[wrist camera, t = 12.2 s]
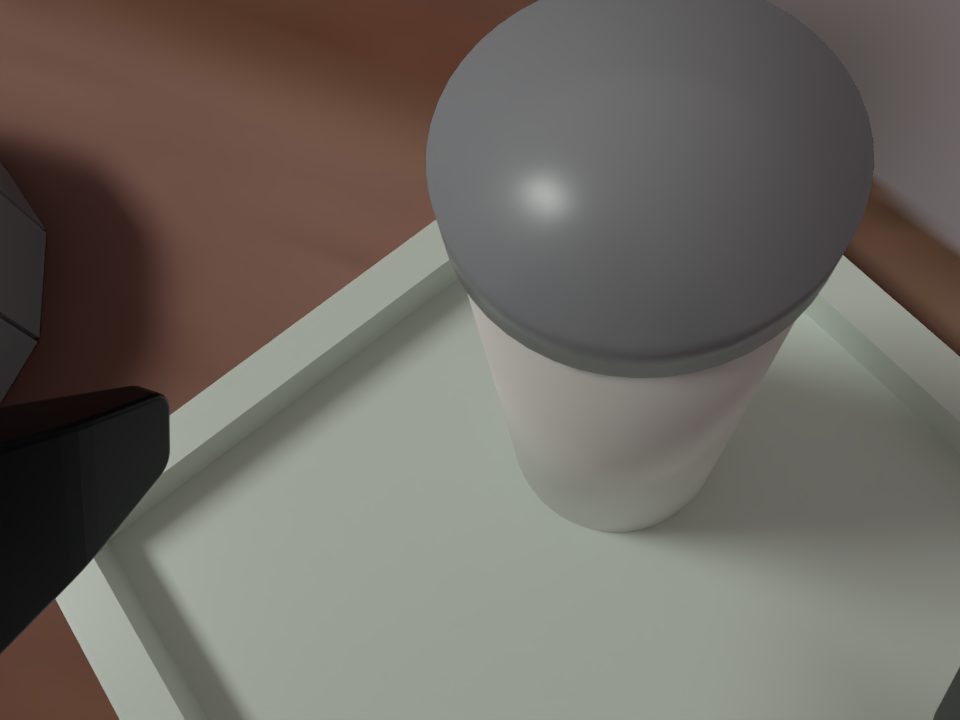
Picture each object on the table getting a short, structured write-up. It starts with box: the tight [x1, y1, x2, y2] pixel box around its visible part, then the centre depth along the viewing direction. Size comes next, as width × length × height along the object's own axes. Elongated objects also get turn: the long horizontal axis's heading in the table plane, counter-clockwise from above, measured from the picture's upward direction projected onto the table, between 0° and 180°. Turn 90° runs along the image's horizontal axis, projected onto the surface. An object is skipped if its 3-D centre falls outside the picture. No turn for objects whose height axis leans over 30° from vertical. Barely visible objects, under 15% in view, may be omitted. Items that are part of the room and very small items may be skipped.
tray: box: [56, 220, 960, 720], centre depth 19 cm, size 20×20×2 cm
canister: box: [426, 0, 874, 532], centre depth 16 cm, size 5×5×12 cm
